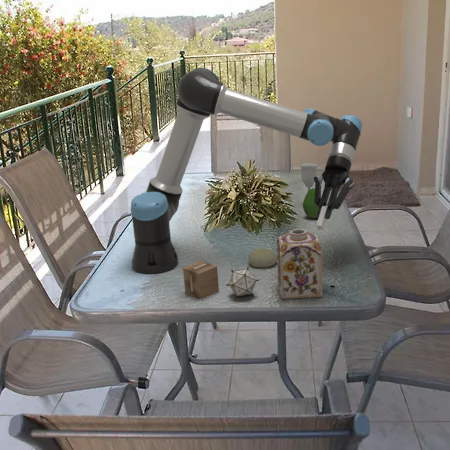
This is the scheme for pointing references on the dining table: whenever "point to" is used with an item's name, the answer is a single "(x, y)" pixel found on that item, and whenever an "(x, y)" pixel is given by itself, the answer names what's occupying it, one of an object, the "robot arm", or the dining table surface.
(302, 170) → the chalice
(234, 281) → the game die
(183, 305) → the dining table surface
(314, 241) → the decorative jar
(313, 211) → the avocado
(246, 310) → the dining table surface
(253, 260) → the sea urchin shell
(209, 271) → the marked walnut block
